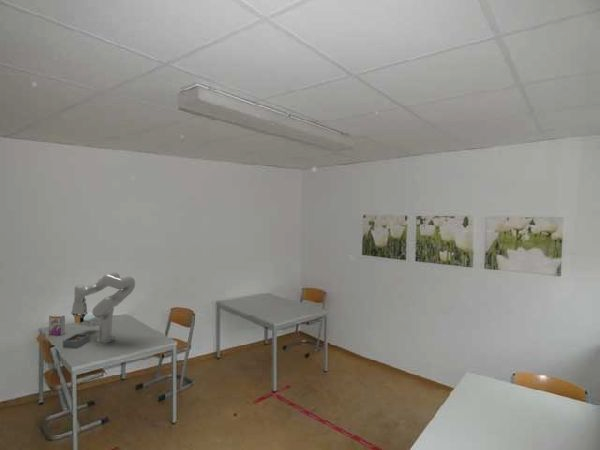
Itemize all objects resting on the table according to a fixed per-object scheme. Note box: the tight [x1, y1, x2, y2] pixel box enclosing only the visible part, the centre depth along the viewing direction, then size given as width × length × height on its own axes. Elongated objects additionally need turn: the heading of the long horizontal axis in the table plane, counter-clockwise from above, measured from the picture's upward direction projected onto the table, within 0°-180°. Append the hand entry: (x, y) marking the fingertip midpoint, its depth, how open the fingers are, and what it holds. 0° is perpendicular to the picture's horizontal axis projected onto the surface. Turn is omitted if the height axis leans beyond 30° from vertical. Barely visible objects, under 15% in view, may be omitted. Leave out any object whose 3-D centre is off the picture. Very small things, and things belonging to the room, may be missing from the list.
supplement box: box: [78, 311, 100, 327], centre depth 336 cm, size 17×13×9 cm
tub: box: [62, 333, 91, 349], centre depth 283 cm, size 16×11×6 cm
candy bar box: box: [48, 314, 66, 336], centre depth 305 cm, size 11×5×16 cm, turn 84°
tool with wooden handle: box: [74, 314, 97, 324], centre depth 306 cm, size 21×10×7 cm, turn 177°
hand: (79, 321), depth 297 cm, fingers closed on tool with wooden handle, 4 cm apart
